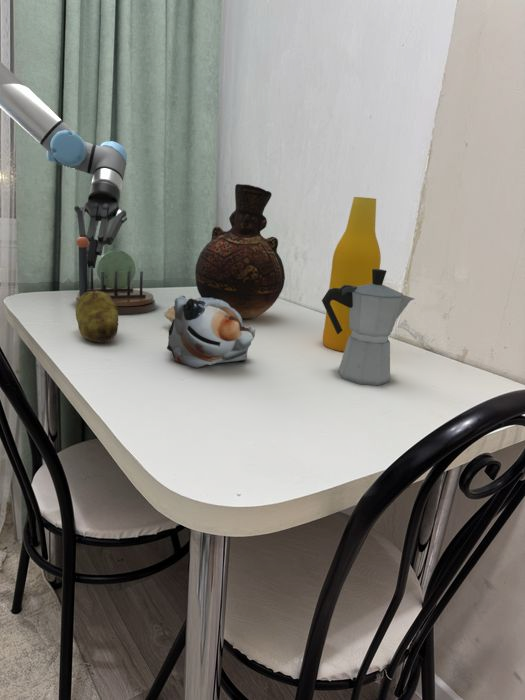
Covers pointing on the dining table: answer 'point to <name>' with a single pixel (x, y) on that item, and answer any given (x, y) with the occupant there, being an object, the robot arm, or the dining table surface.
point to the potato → (97, 316)
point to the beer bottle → (352, 265)
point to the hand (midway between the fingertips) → (90, 264)
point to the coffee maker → (367, 328)
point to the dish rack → (112, 276)
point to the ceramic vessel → (242, 258)
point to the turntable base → (133, 308)
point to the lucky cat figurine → (207, 332)
